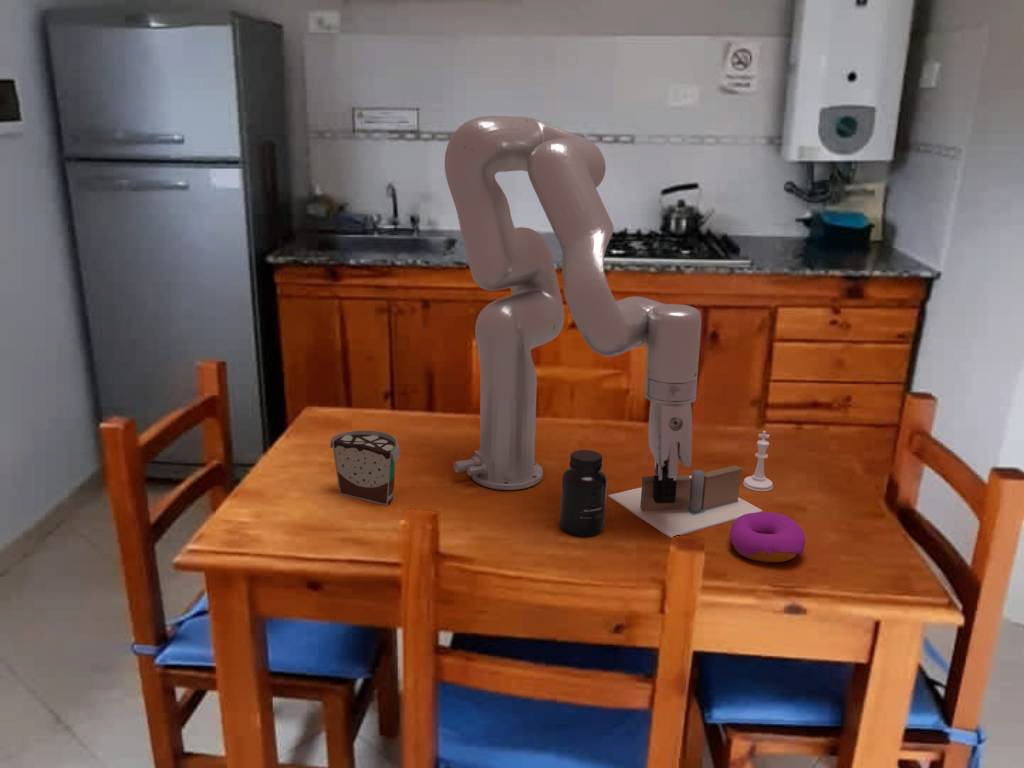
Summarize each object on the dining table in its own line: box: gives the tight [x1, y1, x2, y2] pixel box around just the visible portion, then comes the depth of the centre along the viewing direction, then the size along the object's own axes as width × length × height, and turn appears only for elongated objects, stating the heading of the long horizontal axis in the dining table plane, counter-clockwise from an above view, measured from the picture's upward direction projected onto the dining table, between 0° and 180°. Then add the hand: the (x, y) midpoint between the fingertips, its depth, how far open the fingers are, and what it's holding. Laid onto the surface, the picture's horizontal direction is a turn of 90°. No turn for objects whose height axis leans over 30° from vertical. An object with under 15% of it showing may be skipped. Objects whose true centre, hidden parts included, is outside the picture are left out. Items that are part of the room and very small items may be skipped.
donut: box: [729, 511, 806, 563], centre depth 124 cm, size 11×10×5 cm
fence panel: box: [640, 474, 691, 511], centre depth 134 cm, size 8×2×5 cm, turn 97°
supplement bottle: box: [559, 449, 608, 538], centre depth 128 cm, size 7×7×12 cm
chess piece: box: [742, 430, 774, 492], centre depth 144 cm, size 5×5×10 cm
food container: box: [329, 429, 401, 506], centre depth 138 cm, size 12×6×10 cm, turn 65°
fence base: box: [607, 464, 764, 539], centre depth 137 cm, size 19×16×7 cm
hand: (663, 500), depth 131 cm, fingers closed
